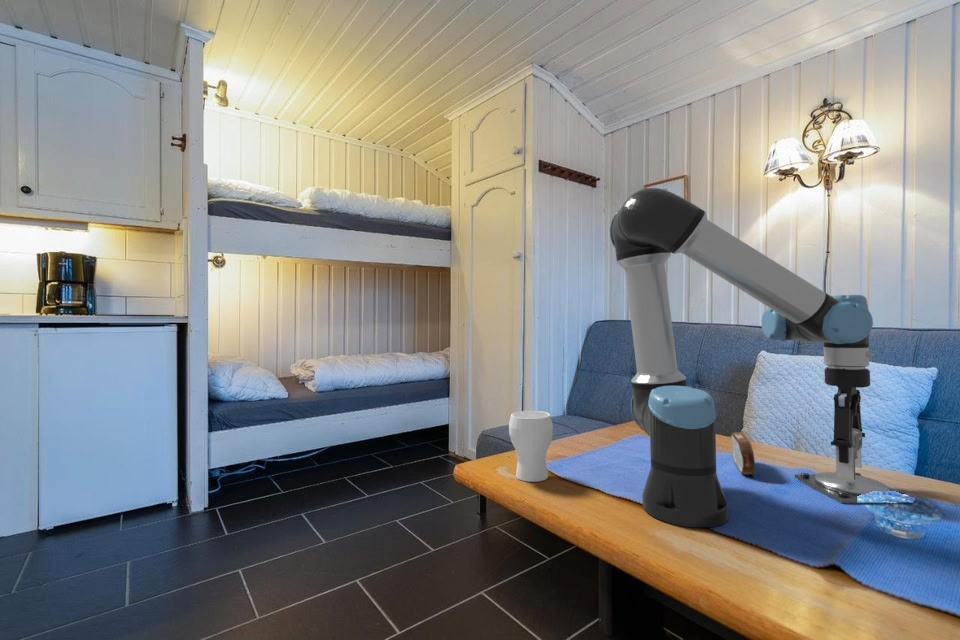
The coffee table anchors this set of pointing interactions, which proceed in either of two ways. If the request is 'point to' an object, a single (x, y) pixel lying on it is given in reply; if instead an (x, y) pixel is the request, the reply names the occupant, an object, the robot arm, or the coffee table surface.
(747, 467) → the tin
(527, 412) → the cup
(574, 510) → the coffee table surface
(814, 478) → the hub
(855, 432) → the mechanical component
